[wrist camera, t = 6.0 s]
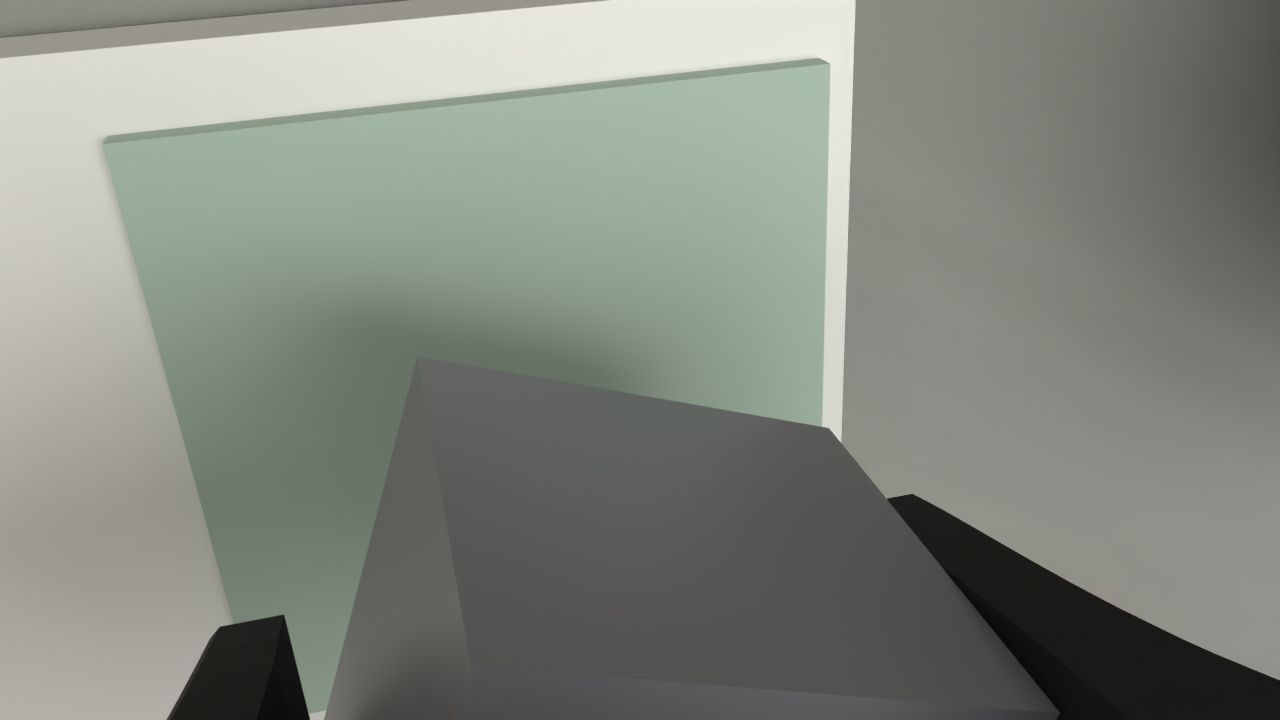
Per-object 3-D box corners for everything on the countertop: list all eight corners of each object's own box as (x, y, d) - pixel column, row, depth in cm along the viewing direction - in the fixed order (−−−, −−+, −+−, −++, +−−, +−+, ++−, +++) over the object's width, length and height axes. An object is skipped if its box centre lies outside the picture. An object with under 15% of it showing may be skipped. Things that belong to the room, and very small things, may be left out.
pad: (809, 593, 19) (818, 607, 19) (262, 705, 17) (260, 724, 17) (818, 58, 15) (830, 63, 15) (108, 135, 13) (102, 144, 13)
